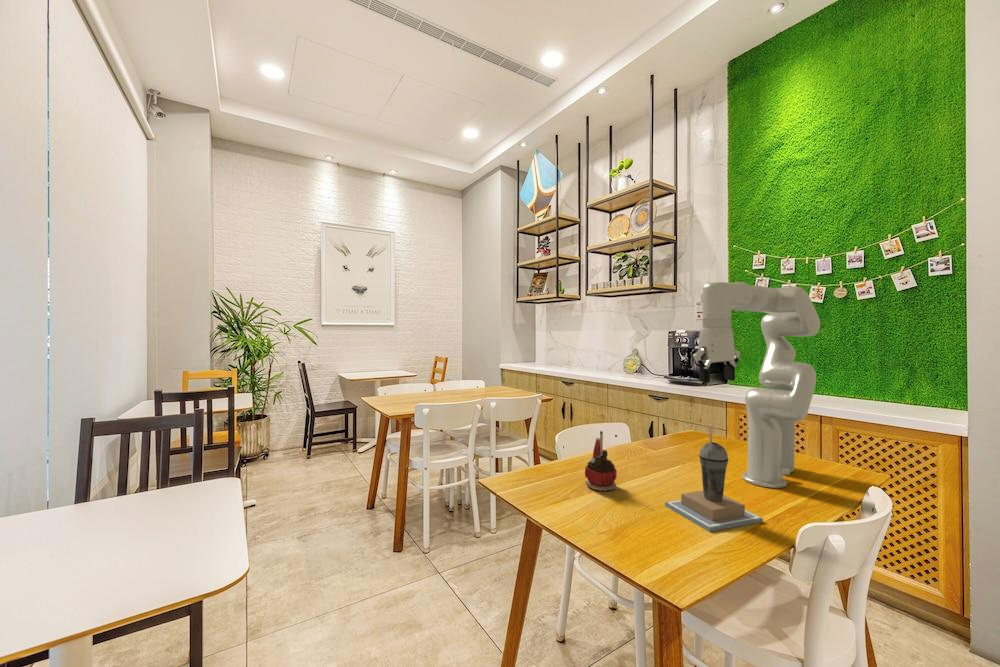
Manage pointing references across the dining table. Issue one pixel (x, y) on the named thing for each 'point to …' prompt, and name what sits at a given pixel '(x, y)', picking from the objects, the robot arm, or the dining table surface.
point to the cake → (600, 468)
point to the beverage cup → (713, 470)
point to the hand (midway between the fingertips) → (717, 381)
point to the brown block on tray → (713, 511)
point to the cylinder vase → (787, 443)
